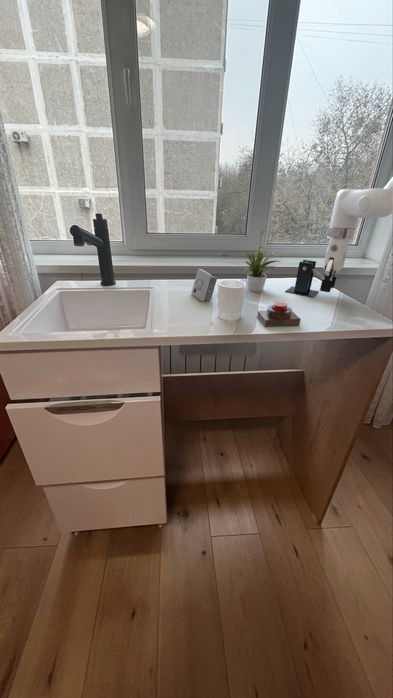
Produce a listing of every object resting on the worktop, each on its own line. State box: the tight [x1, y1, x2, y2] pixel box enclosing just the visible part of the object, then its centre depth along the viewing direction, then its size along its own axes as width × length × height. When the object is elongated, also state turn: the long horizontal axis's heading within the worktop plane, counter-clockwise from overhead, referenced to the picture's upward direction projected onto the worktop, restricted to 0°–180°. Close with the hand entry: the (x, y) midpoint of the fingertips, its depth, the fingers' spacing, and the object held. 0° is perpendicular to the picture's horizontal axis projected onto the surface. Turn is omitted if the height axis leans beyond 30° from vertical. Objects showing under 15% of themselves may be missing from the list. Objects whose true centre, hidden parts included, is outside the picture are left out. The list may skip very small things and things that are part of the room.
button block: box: [256, 304, 301, 328], centre depth 81 cm, size 10×7×4 cm
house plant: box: [243, 245, 281, 292], centre depth 102 cm, size 14×14×16 cm
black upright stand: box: [284, 259, 320, 298], centre depth 102 cm, size 10×8×12 cm
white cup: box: [217, 279, 247, 322], centre depth 82 cm, size 8×8×10 cm
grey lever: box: [306, 261, 324, 280], centre depth 99 cm, size 11×5×2 cm, turn 56°
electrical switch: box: [191, 268, 218, 303], centre depth 98 cm, size 9×5×9 cm, turn 22°
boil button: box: [273, 301, 288, 312], centre depth 80 cm, size 4×4×2 cm
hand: (326, 288), depth 99 cm, fingers open, 5 cm apart
